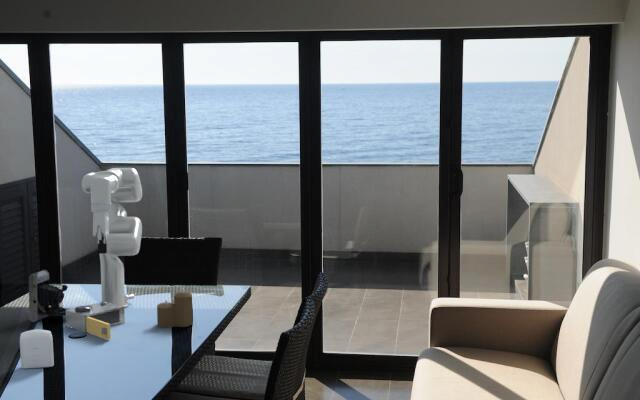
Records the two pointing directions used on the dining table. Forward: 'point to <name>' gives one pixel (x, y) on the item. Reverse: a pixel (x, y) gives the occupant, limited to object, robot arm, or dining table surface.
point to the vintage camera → (44, 297)
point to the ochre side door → (97, 327)
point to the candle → (176, 311)
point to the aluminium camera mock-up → (95, 314)
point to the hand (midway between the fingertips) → (102, 253)
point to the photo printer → (36, 349)
